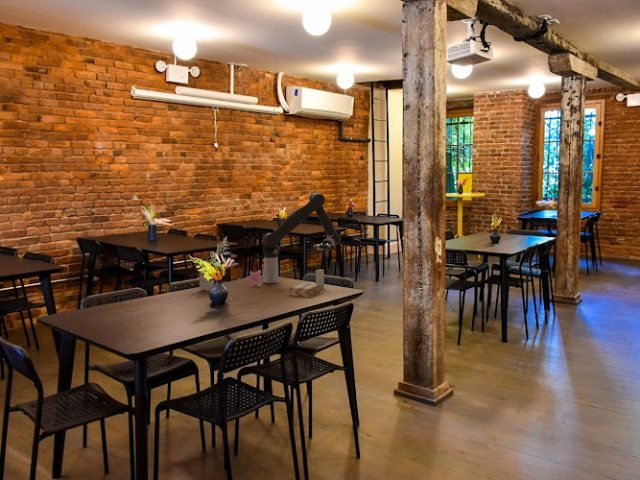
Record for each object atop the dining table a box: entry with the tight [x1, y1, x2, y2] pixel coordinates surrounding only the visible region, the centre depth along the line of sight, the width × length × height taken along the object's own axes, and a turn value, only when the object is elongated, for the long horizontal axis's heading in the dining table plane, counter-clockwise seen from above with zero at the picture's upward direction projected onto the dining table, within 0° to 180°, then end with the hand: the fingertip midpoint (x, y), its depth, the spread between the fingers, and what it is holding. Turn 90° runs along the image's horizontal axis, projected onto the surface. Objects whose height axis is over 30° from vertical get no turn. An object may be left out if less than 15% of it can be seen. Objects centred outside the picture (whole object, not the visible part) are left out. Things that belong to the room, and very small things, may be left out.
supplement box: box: [199, 262, 214, 292], centre depth 376 cm, size 10×9×17 cm
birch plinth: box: [288, 282, 321, 298], centre depth 359 cm, size 14×14×5 cm
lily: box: [244, 269, 265, 287], centre depth 389 cm, size 12×12×10 cm
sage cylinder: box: [315, 269, 325, 291], centre depth 373 cm, size 5×5×12 cm
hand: (321, 248), depth 380 cm, fingers open, 8 cm apart
